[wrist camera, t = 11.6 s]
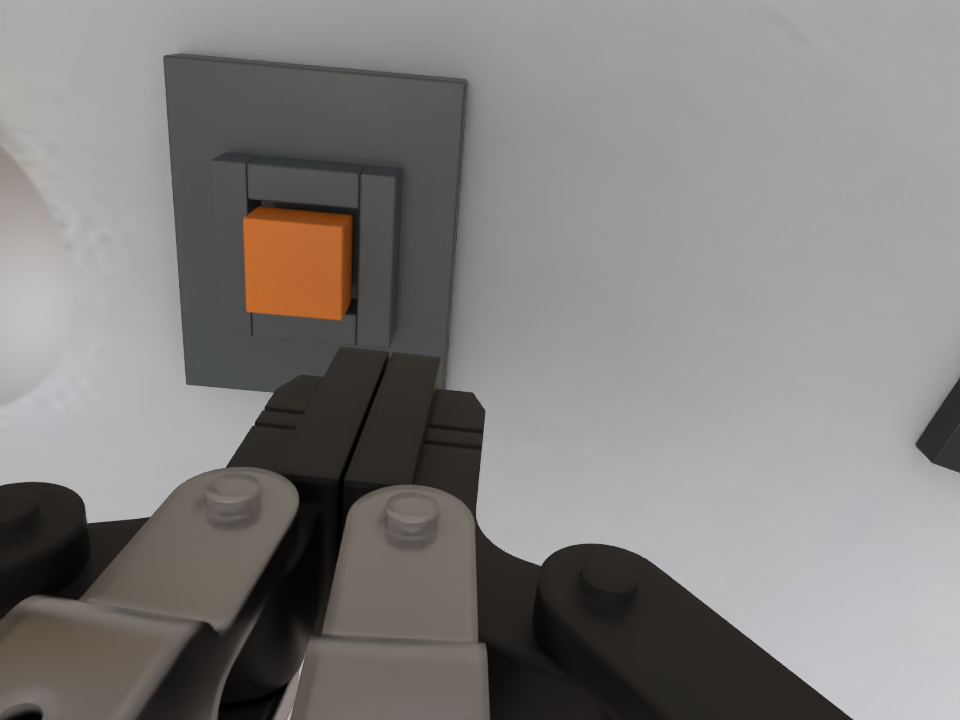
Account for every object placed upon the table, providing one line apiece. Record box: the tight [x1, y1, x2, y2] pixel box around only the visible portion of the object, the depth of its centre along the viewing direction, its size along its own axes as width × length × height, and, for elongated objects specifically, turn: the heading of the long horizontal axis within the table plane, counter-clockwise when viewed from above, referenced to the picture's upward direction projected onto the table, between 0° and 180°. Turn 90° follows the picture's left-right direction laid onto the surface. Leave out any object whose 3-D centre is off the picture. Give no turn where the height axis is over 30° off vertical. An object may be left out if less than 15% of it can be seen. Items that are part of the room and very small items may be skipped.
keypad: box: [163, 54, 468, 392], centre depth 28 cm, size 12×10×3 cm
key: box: [243, 206, 353, 320], centre depth 27 cm, size 3×3×2 cm
